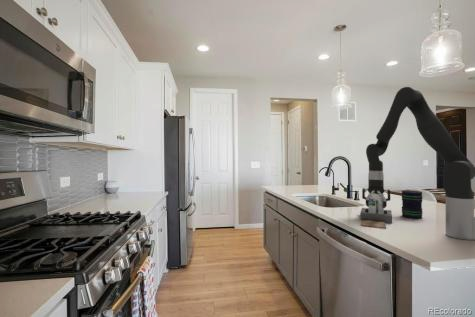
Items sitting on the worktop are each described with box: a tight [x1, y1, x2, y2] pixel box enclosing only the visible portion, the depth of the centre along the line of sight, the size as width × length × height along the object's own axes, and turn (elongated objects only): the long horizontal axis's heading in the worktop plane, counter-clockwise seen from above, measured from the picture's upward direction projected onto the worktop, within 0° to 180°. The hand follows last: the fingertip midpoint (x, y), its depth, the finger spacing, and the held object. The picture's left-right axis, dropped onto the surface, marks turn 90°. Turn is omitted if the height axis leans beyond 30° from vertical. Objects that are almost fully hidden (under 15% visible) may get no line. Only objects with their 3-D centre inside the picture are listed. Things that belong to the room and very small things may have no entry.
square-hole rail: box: [359, 207, 393, 224], centre depth 137 cm, size 15×15×4 cm
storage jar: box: [401, 189, 423, 220], centre depth 140 cm, size 10×10×15 cm
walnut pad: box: [360, 220, 387, 230], centre depth 125 cm, size 11×11×1 cm
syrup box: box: [367, 192, 385, 214], centre depth 137 cm, size 6×6×14 cm
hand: (376, 207), depth 137 cm, fingers closed on syrup box, 7 cm apart
